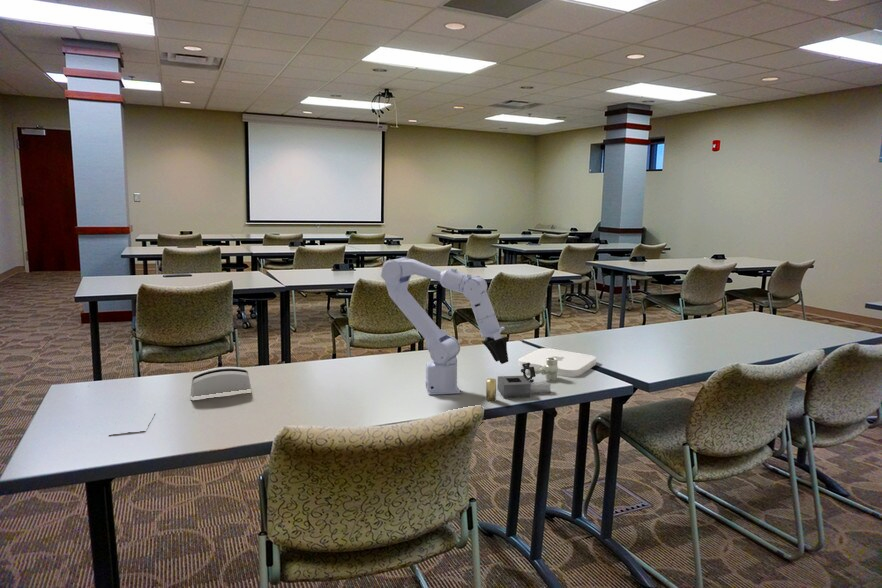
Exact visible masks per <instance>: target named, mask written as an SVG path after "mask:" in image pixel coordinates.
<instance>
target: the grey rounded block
mask: <svg viewBox="0 0 882 588" xmlns="http://www.w3.org/2000/svg"><path fill="white" fill-rule="evenodd" d="M251 385H252V384H251V379H250V375H249V371H248V369H247V368H245V367H239V366H218V367H214V368H209V369H206V370H203V371H200V372H197V373H194V374H193V376H192V379H191V389H190V396H192V397H194V396H201V395H209V394H216V393H223V392H231V391H239V390H247V389H251V390H252V386H251Z"/></svg>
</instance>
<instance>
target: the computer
mask: <svg viewBox="0 0 882 588" xmlns="http://www.w3.org/2000/svg"><path fill="white" fill-rule="evenodd" d="M546 358H556V359H557V360H558V361H557V366H558V372H557V376H561V375H562V376H563V377H566V378H567V377H568V378H576V377H579V376H581V375H583V374H584V373H586V372H587V371H589V370H590V369H592V368H593V367H595V366H596V365H597V356H595V355H591V354H587V353H586V354H585V353H579V352H575V351H567V350H561V349H556V348H555V349H554V348H549V347H548V348H547V347H541V348H538V349H536V350H534V351H532V352H530V353H528V354H526V355H524V356H522V357H519V358H518V367H519V368H520V369H523V366H522V364H525V363H530V364H531V365H529V366H530V367H534V370H535V369H537V368H540V367H541V366H543V365H545V366H546Z"/></svg>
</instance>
